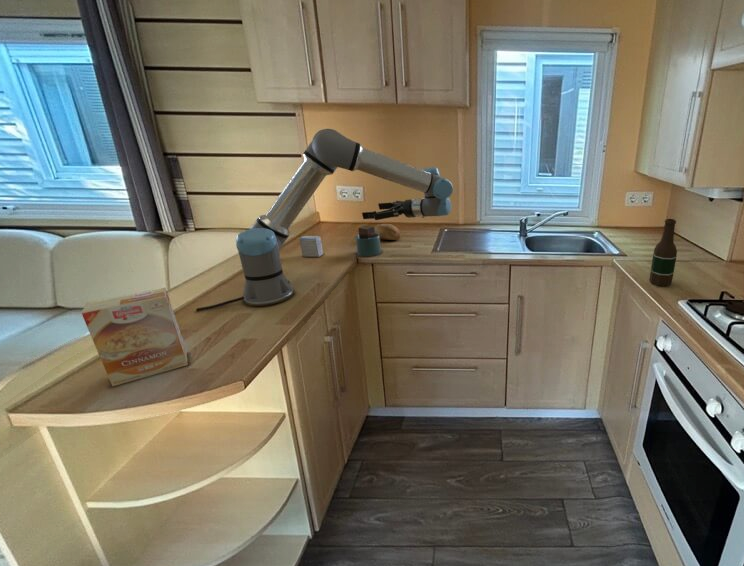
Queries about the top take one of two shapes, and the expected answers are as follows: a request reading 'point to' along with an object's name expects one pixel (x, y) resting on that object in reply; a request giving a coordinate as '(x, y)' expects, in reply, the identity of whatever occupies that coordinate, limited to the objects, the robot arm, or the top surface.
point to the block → (366, 232)
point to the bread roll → (388, 232)
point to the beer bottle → (664, 257)
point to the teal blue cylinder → (368, 246)
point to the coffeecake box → (135, 335)
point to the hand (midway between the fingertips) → (371, 211)
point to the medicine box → (311, 246)
